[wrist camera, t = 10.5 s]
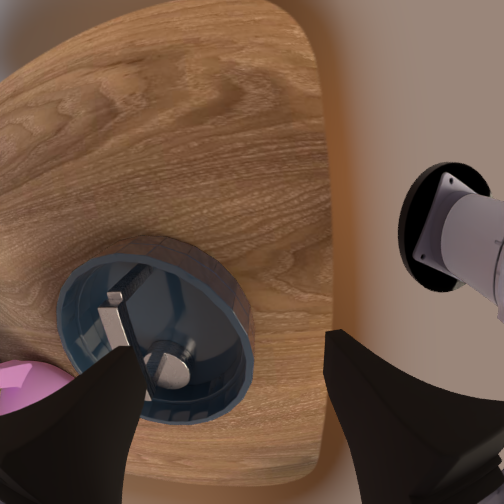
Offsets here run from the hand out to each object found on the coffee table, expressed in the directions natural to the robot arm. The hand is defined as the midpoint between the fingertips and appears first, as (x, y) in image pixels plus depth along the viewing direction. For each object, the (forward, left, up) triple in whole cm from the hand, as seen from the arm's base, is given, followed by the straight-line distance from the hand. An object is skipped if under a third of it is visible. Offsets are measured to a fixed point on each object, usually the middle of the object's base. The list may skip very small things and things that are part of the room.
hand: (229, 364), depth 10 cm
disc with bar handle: (+4, +6, -9) cm, 12 cm away
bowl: (+4, +6, -10) cm, 13 cm away
